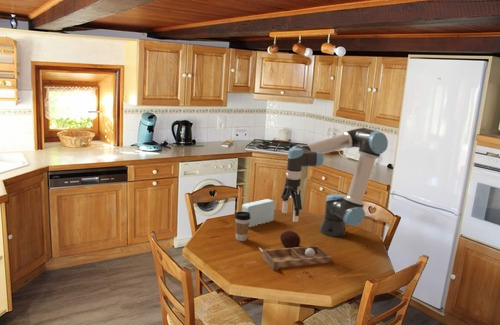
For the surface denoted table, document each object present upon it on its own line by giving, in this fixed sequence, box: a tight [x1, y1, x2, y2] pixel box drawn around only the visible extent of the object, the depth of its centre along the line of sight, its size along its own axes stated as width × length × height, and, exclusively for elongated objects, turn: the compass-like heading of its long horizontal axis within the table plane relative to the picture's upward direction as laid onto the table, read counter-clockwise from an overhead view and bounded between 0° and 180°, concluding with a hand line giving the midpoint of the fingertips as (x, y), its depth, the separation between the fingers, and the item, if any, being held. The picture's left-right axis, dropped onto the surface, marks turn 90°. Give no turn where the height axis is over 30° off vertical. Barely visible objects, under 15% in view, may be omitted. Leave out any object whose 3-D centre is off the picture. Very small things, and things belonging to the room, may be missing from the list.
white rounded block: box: [241, 198, 276, 228], centre depth 270 cm, size 23×6×13 cm, turn 134°
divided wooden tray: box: [261, 245, 332, 271], centre depth 221 cm, size 31×14×4 cm, turn 110°
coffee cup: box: [234, 211, 250, 242], centre depth 243 cm, size 8×8×15 cm
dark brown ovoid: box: [279, 230, 301, 248], centre depth 237 cm, size 9×12×9 cm
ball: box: [305, 248, 315, 258], centre depth 224 cm, size 5×5×5 cm
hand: (289, 216), depth 234 cm, fingers open, 13 cm apart
